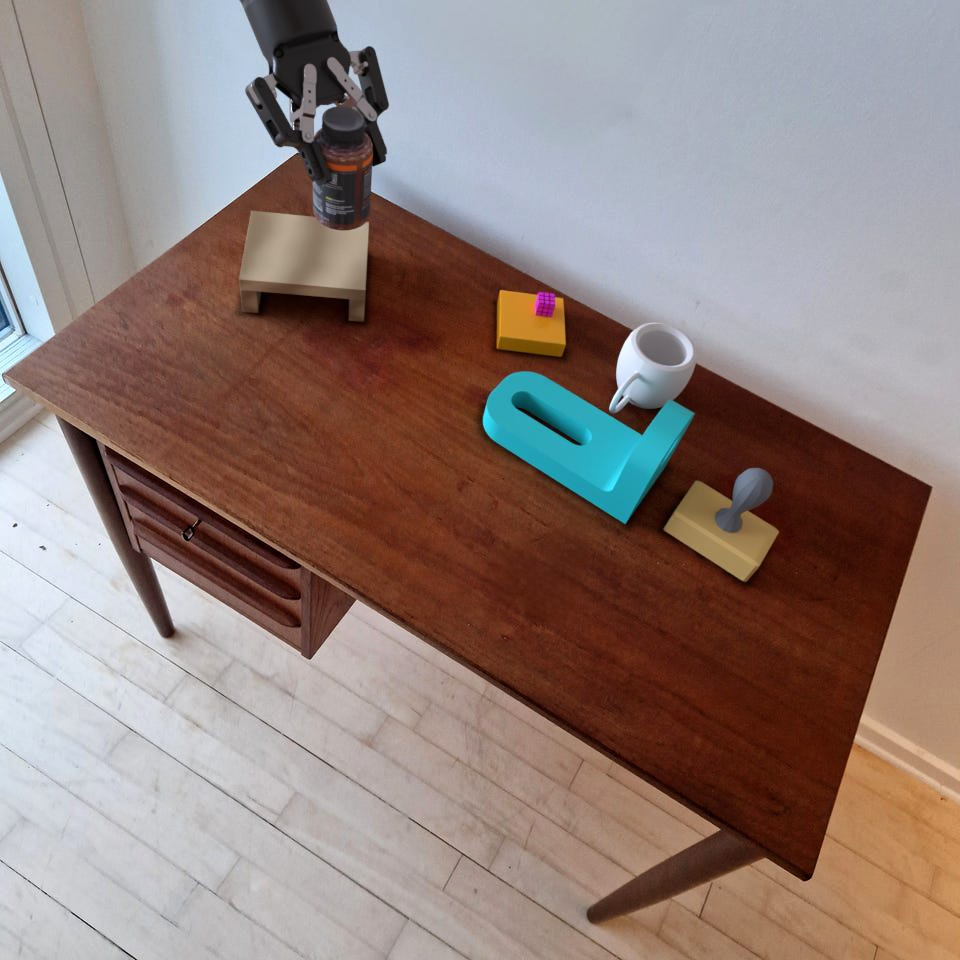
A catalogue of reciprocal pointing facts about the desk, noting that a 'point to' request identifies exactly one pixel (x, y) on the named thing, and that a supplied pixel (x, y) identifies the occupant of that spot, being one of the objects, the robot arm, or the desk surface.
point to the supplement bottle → (344, 170)
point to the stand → (303, 261)
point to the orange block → (531, 323)
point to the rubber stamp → (727, 523)
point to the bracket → (583, 441)
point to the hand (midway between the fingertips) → (353, 172)
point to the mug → (653, 366)
